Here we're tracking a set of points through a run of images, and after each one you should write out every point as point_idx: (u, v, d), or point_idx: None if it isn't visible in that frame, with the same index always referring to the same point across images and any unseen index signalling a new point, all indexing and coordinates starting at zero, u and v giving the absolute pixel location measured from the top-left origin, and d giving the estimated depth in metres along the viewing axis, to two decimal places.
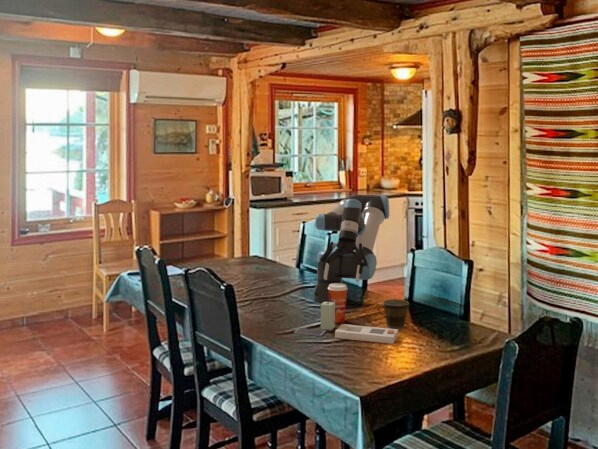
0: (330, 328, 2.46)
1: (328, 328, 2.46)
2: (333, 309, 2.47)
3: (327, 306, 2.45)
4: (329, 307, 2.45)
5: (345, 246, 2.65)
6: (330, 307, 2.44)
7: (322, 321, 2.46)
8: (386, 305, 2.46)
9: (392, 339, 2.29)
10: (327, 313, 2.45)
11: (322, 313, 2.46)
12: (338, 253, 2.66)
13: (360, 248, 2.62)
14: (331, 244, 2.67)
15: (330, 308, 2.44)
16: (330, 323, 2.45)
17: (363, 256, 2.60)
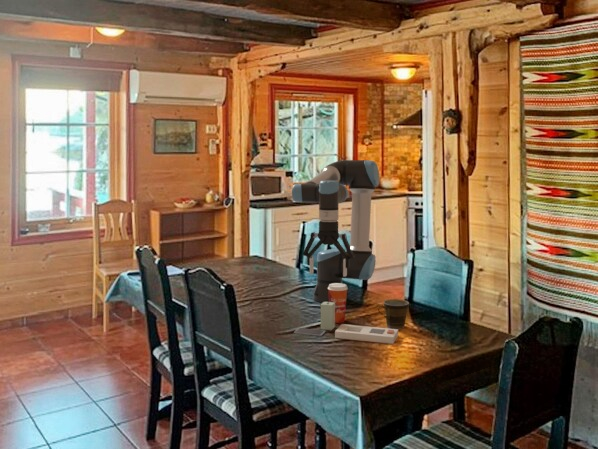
0: (330, 328, 2.46)
1: (328, 328, 2.46)
2: (333, 309, 2.47)
3: (327, 306, 2.45)
4: (329, 307, 2.45)
5: (327, 238, 2.43)
6: (330, 307, 2.44)
7: (322, 321, 2.46)
8: (386, 305, 2.46)
9: (392, 339, 2.29)
10: (327, 313, 2.45)
11: (322, 313, 2.46)
12: (321, 244, 2.46)
13: (343, 240, 2.41)
14: (312, 236, 2.45)
15: (330, 308, 2.44)
16: (330, 323, 2.45)
17: (348, 249, 2.41)
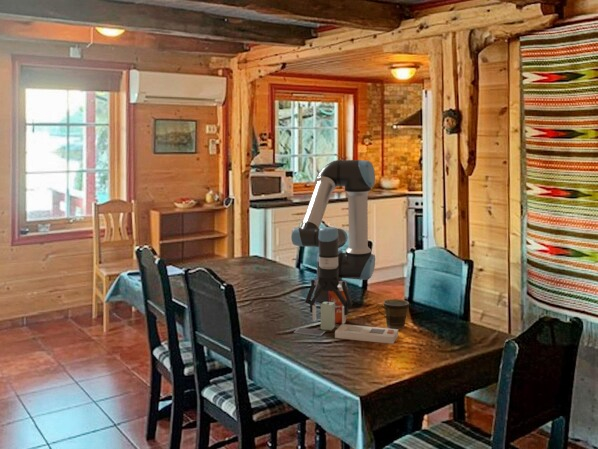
0: (330, 328, 2.46)
1: (328, 328, 2.46)
2: (333, 309, 2.47)
3: (327, 306, 2.45)
4: (329, 307, 2.45)
5: (327, 284, 2.45)
6: (330, 307, 2.44)
7: (322, 321, 2.46)
8: (386, 305, 2.46)
9: (392, 339, 2.29)
10: (327, 313, 2.45)
11: (322, 313, 2.46)
12: (322, 290, 2.47)
13: (343, 287, 2.43)
14: (312, 283, 2.47)
15: (330, 308, 2.44)
16: (330, 323, 2.45)
17: (347, 297, 2.43)
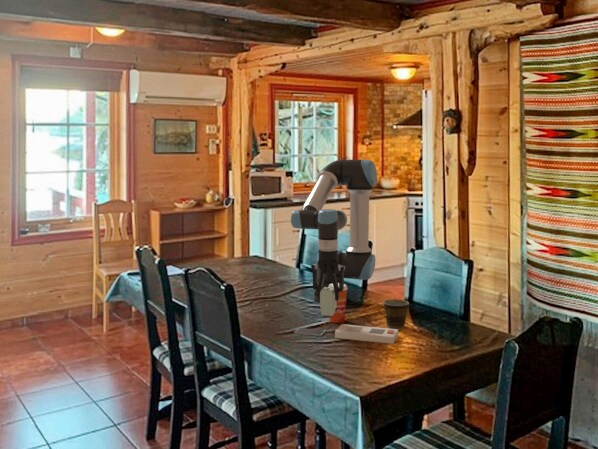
0: (330, 314, 2.45)
1: (328, 314, 2.45)
2: None
3: (327, 292, 2.44)
4: (329, 292, 2.44)
5: (327, 266, 2.44)
6: (330, 293, 2.44)
7: (322, 306, 2.46)
8: (386, 305, 2.46)
9: (392, 339, 2.29)
10: (327, 299, 2.45)
11: (322, 299, 2.45)
12: (324, 273, 2.46)
13: (340, 272, 2.43)
14: (313, 268, 2.46)
15: (330, 294, 2.44)
16: (330, 309, 2.45)
17: (340, 282, 2.43)
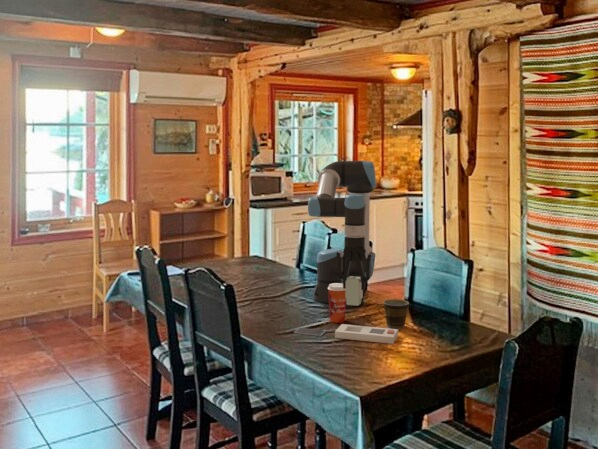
0: (356, 303, 2.34)
1: (354, 303, 2.34)
2: None
3: (353, 280, 2.33)
4: (355, 281, 2.33)
5: (353, 254, 2.34)
6: (357, 281, 2.33)
7: (348, 295, 2.35)
8: (386, 305, 2.46)
9: (392, 339, 2.29)
10: (353, 287, 2.34)
11: (348, 288, 2.34)
12: (350, 261, 2.36)
13: (368, 260, 2.32)
14: (338, 255, 2.35)
15: (356, 282, 2.33)
16: (356, 298, 2.34)
17: (367, 270, 2.32)
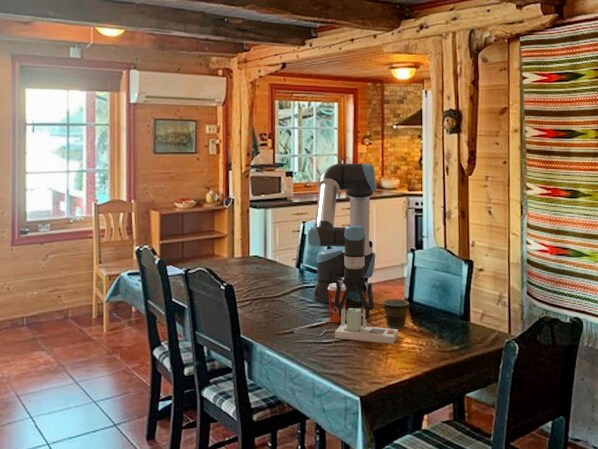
0: None
1: None
2: (360, 315, 2.38)
3: (353, 313, 2.35)
4: (355, 313, 2.35)
5: (353, 284, 2.35)
6: (357, 314, 2.35)
7: (348, 328, 2.37)
8: (386, 305, 2.46)
9: (392, 339, 2.29)
10: (353, 320, 2.35)
11: (348, 320, 2.36)
12: (349, 291, 2.38)
13: (368, 290, 2.33)
14: (337, 284, 2.37)
15: (356, 315, 2.35)
16: (356, 330, 2.36)
17: (370, 300, 2.34)
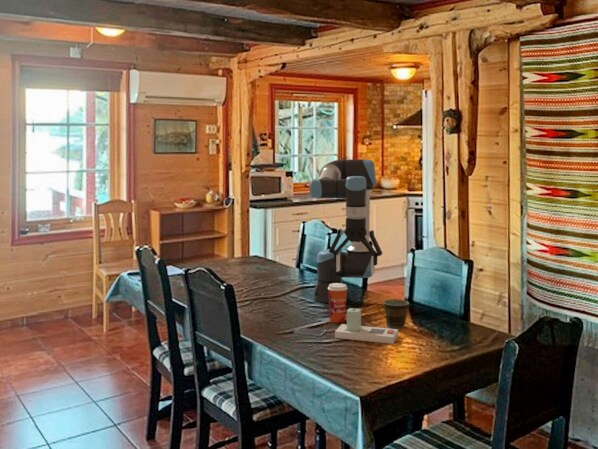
0: None
1: None
2: (360, 316, 2.38)
3: (353, 313, 2.35)
4: (355, 314, 2.35)
5: (354, 235, 2.38)
6: (357, 314, 2.35)
7: (348, 328, 2.36)
8: (386, 305, 2.46)
9: (392, 339, 2.29)
10: (353, 320, 2.35)
11: (348, 320, 2.36)
12: None
13: (371, 237, 2.36)
14: (338, 233, 2.40)
15: (356, 315, 2.35)
16: (357, 330, 2.36)
17: (376, 247, 2.36)
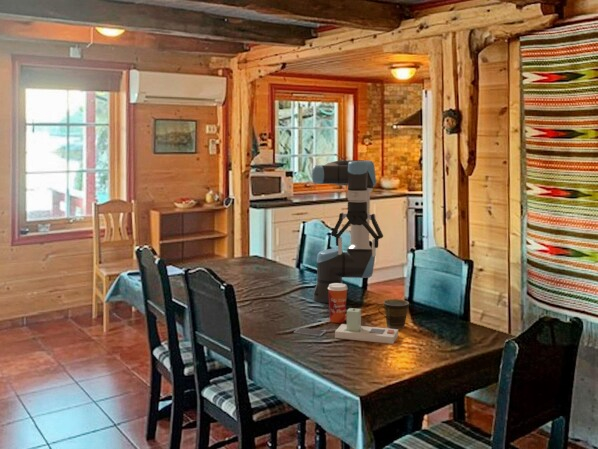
0: None
1: None
2: (360, 316, 2.38)
3: (353, 313, 2.35)
4: (355, 314, 2.35)
5: (356, 218, 2.44)
6: (357, 314, 2.35)
7: (348, 328, 2.36)
8: (386, 305, 2.46)
9: (392, 339, 2.29)
10: (353, 320, 2.35)
11: (348, 320, 2.36)
12: (349, 224, 2.47)
13: (372, 220, 2.42)
14: (340, 216, 2.46)
15: (356, 315, 2.35)
16: (357, 330, 2.36)
17: (377, 229, 2.42)
